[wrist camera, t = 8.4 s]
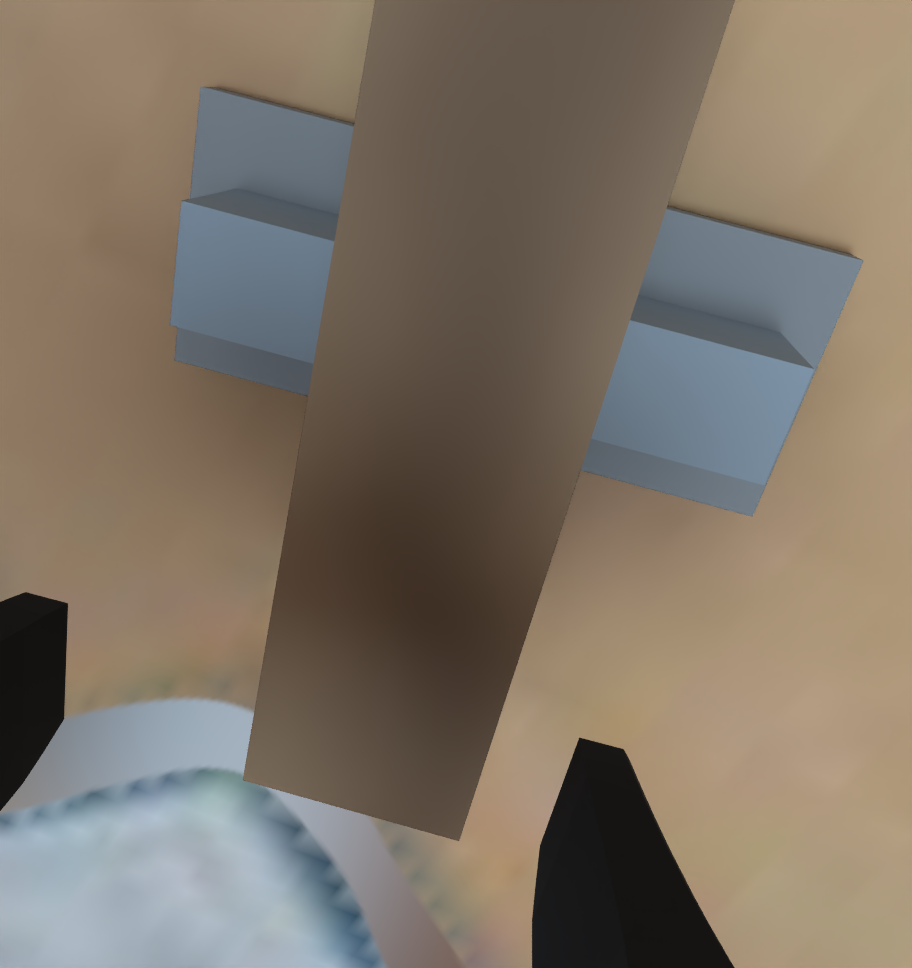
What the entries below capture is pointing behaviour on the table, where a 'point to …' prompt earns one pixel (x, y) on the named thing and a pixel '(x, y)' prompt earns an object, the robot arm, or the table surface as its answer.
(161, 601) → the table surface
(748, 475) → the fulcrum
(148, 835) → the table surface
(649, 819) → the robot arm
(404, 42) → the walnut bar
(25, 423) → the table surface
